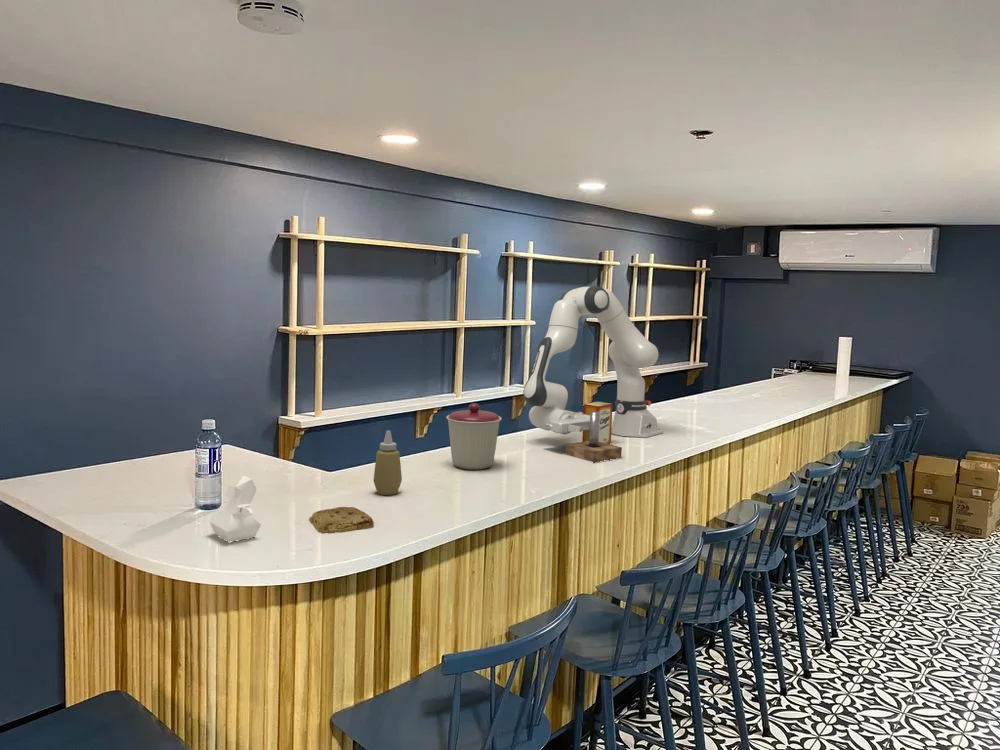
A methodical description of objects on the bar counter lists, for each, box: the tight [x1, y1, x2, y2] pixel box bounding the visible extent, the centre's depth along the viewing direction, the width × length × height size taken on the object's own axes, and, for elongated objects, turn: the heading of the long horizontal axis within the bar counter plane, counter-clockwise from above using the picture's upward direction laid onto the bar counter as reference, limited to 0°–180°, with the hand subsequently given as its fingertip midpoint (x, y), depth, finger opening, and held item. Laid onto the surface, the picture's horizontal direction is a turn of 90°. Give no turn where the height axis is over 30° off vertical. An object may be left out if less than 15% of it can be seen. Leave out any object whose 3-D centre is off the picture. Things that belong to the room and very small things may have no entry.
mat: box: [543, 445, 565, 455], centre depth 290 cm, size 12×10×1 cm
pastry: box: [308, 506, 375, 534], centre depth 197 cm, size 17×17×3 cm
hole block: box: [564, 441, 622, 464], centre depth 281 cm, size 14×14×4 cm
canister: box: [445, 402, 502, 471], centre depth 260 cm, size 18×18×21 cm
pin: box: [589, 412, 600, 448], centre depth 280 cm, size 3×3×16 cm
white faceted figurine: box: [209, 475, 262, 542], centre depth 184 cm, size 8×14×14 cm, turn 44°
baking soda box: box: [581, 401, 613, 445], centre depth 302 cm, size 10×6×16 cm
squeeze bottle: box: [373, 430, 403, 496], centre depth 225 cm, size 8×8×18 cm
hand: (590, 428), depth 281 cm, fingers open, 8 cm apart
